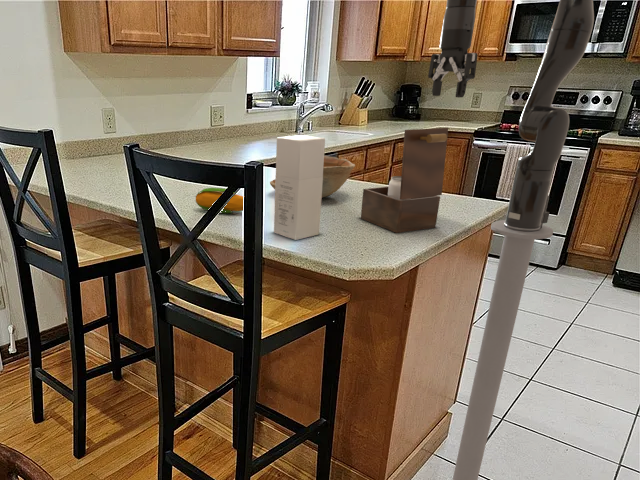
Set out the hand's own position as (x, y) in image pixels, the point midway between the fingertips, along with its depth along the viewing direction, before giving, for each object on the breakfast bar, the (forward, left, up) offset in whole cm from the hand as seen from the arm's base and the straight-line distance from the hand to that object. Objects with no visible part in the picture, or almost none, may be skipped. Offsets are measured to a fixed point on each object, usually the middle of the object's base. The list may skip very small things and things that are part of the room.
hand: (447, 96), depth 140 cm
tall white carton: (+42, -4, -34) cm, 54 cm away
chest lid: (+10, +5, -16) cm, 20 cm away
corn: (+51, -33, -34) cm, 70 cm away
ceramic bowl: (+15, -42, -34) cm, 56 cm away
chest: (+10, -2, -34) cm, 35 cm away
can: (+10, -2, -33) cm, 35 cm away
